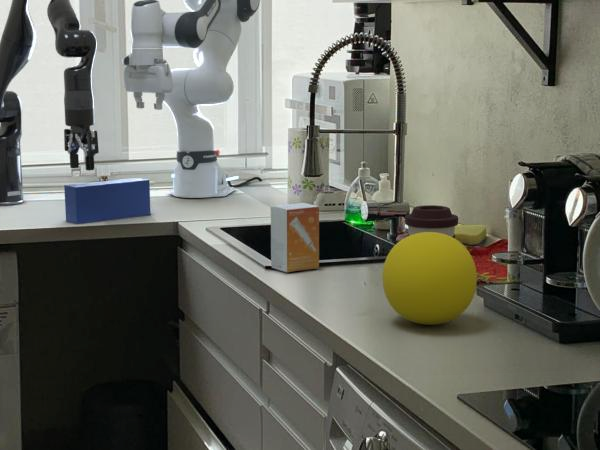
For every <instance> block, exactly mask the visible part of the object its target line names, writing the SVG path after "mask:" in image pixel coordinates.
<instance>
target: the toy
mask: <svg viewBox="0 0 600 450" xmlns="http://www.w3.org/2000/svg"><path fill="white" fill-rule="evenodd" d="M407 236H408V235H407ZM407 236H406V237H404V238H403V239H401V240H399V241H398V242H397V243H396V244H395V245H394V246H393V247H392V248H391V249H390V250H389V252H388V254H387V255H386V258H385V260H384V263H383V268H382V276H381V277H382V287H383V291H384V295H385V297H386V300H387V302H388V303H389V305H390V306H391V308H392V309H393V310H394V311H395V312H396V313H397V314H398V315H399V316H401V317H402V318H404V319H405V320H407V321H410V322H413V323H415V324H419V325H420V324H421V325H427V326H428V325H429V326H431V325H432V326H433V325H440V324H445V323H449V322H450V321H452V320H454V319H456V318H457V317H459V316H461V315H462V314H463V313H464V312H465V311H466V310H467V309H468V307H469V306H470V305H471V303H472V301H473V299H474V296H475V293H476V290H477V284H478V275H477V268H476V263H475V261H474V258H473V257H472V255H471V253H470V251H469V250H468V248H467V247H466V246H465V245H464V244H463V243H462V242H461V241H460V240H458V239H456V237H455V238H453V237H451V236H448V235H445V234H442V233H437V232H422V233H417V234H413V235H410V236H408V237H407Z"/></svg>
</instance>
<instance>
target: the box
mask: <svg viewBox="0 0 600 450" xmlns="http://www.w3.org/2000/svg"><path fill="white" fill-rule="evenodd" d="M63 187H64V189H63V190H64V209H65V221H66V222H67V223H71V224H75V225H80V224H81V225H82V224H88V223H96V222H97V223H98V222H105V221H113V220H120V219H121V220H122V219H128V218H136V217H145V216H151V213H152V212H151V188H150V187H151V186H150V179H145V178H141V177H133V178H123V179H112V180H103V181H102V180H101V181H93V182H81V183H72V184H64V186H63Z"/></svg>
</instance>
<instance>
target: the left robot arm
mask: <svg viewBox="0 0 600 450" xmlns="http://www.w3.org/2000/svg"><path fill="white" fill-rule="evenodd" d="M46 8H47V9H46V14H47V18H48V21H49V23H50V25H51V27H52V29H53V31H54V38H55V39H54V40H55V41H54V46H55V51H56V53H57V54H58V55H59V56H61V57H62V58H66V59H70V58H72V59H73V58H80V61H79V63H78V64H77V65H75V66H74V65H73V66H69V67H67V68H65V69H64V71H63V82H64V84H63V85H64V96H63V105H64V106H63V107H64V122H65V123H64V125H65V126H67V127H70V128H64V130H63V137H64V138H63V140H64V143H63V144H64V145H63V146H64V151H65V152H67V154H68V155H69V166H70V168H71V169H77V168H78V169H79V167H80V161H79V151H80V150H82V151H83V153H84V162H85V163H84V164H85V165H84V166H85V170H86V171H87V172H88V171H89V172H90V171H94V170H95V156H96V155H97V154H99V139H98V130H91V127H92V126H94V125H95V105H94V94H93V86H92V71H93V66H94V60H95V56H96V52H97V47H98V46H97V45H98V42H97V41H98V40H97V37H96V35H95V34H94V32H93V31H91V30H89V29H81V22H80V20H79V18H78V15H77V14H76V11H75V10H74V7H73V6H72V4H71V1H70V0H50V1H49V3H48V5H47V7H46ZM36 41H37V32H36V28H35V24H34V22H33V19H32V16H31V14H30V10H29V0H11V4H10V8H9V11H8V15H7V19H6V22H5V25H4V28H3V30H2V34H1V38H0V206H11V205H21V204H23V203H24V202H25V201H24V187H23V170H22V169H23V168H22V167H23V166H22V151H21V139H22V135H23V107H22V101H21V99H20V97H19V95H18V93H17V92H15V91H13V90H8V87H9V86H10V84H11V82H12V81H13V80H14V79H15V78H16V76H17V75H18V74H19V73H20V72H21V71H22V70H23V69H24V68H25V67H26V65H27V64H28V63H29V61H30V59H31V57H32V54H33V51H34V48H35V45H36Z"/></svg>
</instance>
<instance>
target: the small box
mask: <svg viewBox="0 0 600 450" xmlns="http://www.w3.org/2000/svg"><path fill="white" fill-rule="evenodd" d="M270 267H271V268H272V269H275V270H277V271H281V272H284V273H291V272H296V271H297V272H298V271H299V272H300V271H308V270H315V269H316V270H317V269H319V268H320V206H319V205H315V204H311V203H306V202H298V203H285V204H280V205H271V206H270Z"/></svg>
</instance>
